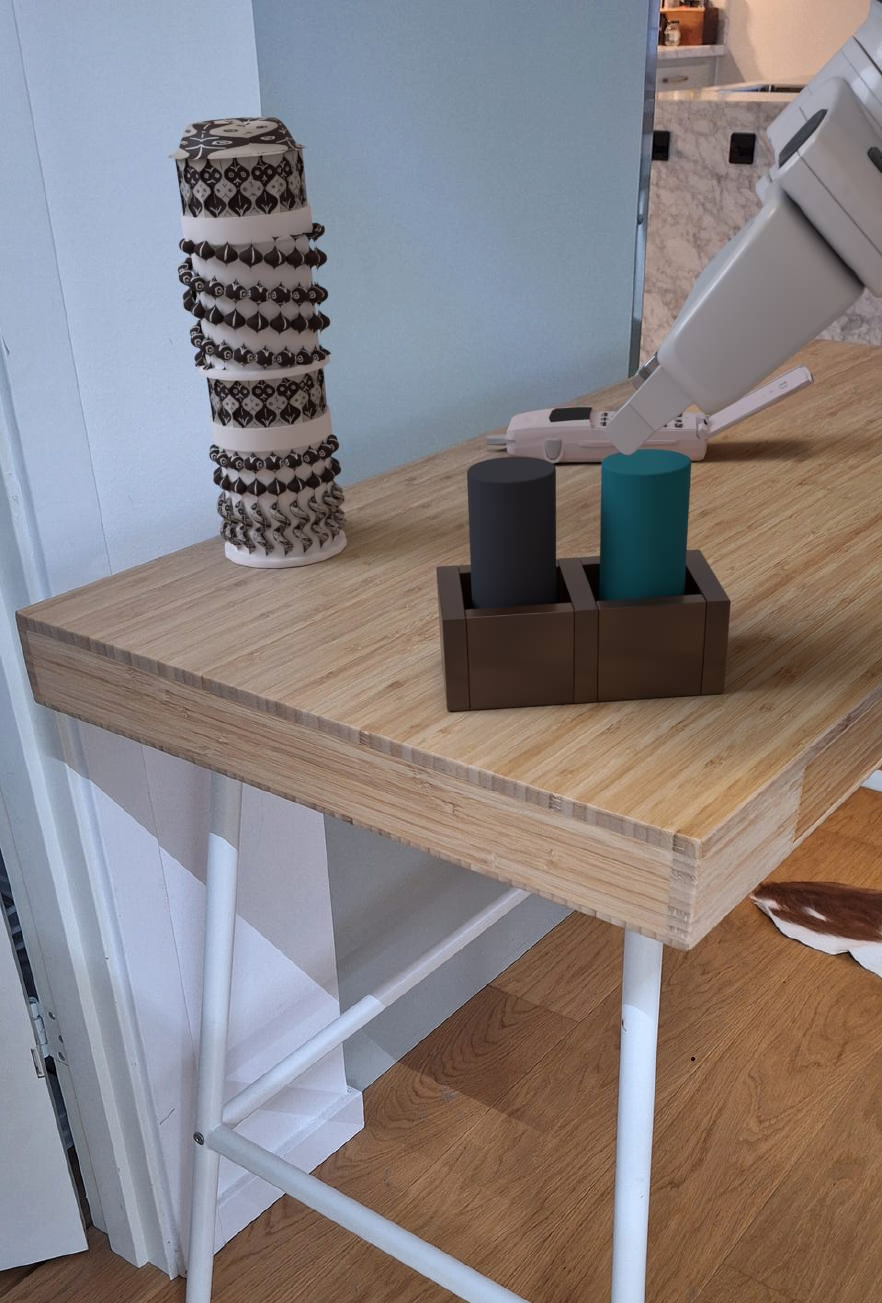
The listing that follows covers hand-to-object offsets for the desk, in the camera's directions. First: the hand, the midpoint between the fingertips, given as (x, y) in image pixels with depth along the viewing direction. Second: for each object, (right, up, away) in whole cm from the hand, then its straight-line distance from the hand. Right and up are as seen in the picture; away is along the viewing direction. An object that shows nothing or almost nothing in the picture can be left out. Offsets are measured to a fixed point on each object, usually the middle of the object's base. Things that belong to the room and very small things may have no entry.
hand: (629, 415), depth 66 cm
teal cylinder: (+1, -11, +7) cm, 13 cm away
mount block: (-2, -11, +7) cm, 13 cm away
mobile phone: (+7, +13, +41) cm, 43 cm away
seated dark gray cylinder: (-5, -11, +7) cm, 14 cm away
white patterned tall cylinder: (-20, +1, +27) cm, 33 cm away
